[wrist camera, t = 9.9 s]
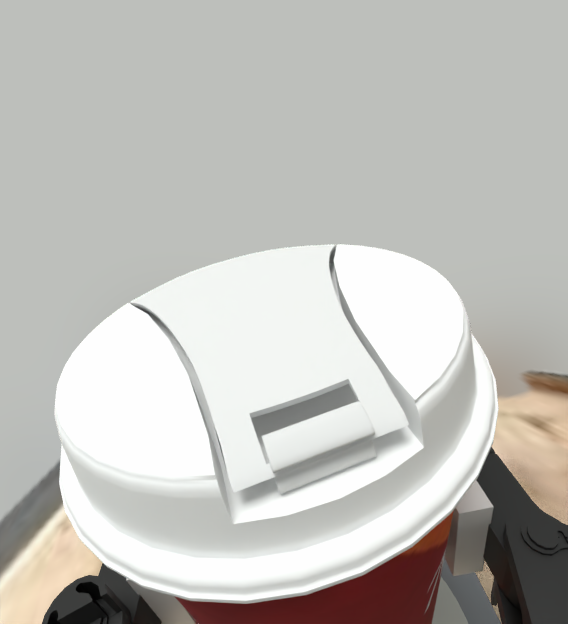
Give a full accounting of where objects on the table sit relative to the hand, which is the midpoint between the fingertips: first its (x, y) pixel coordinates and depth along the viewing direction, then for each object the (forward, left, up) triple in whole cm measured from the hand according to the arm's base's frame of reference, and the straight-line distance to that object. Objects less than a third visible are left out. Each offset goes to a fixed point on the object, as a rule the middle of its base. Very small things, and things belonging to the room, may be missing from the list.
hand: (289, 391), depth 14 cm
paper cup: (0, +5, -8) cm, 9 cm away
